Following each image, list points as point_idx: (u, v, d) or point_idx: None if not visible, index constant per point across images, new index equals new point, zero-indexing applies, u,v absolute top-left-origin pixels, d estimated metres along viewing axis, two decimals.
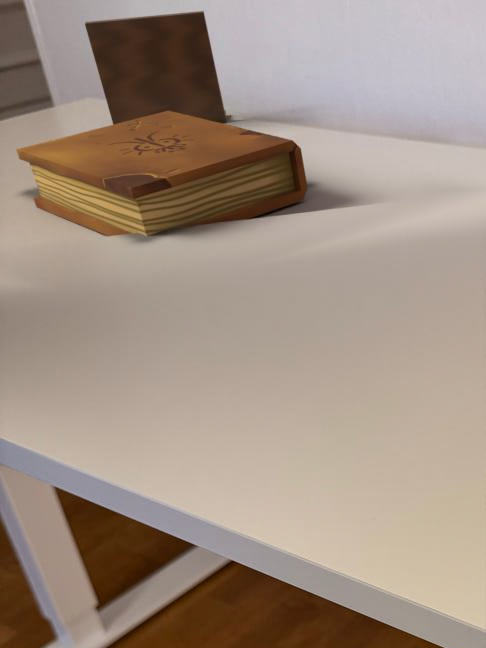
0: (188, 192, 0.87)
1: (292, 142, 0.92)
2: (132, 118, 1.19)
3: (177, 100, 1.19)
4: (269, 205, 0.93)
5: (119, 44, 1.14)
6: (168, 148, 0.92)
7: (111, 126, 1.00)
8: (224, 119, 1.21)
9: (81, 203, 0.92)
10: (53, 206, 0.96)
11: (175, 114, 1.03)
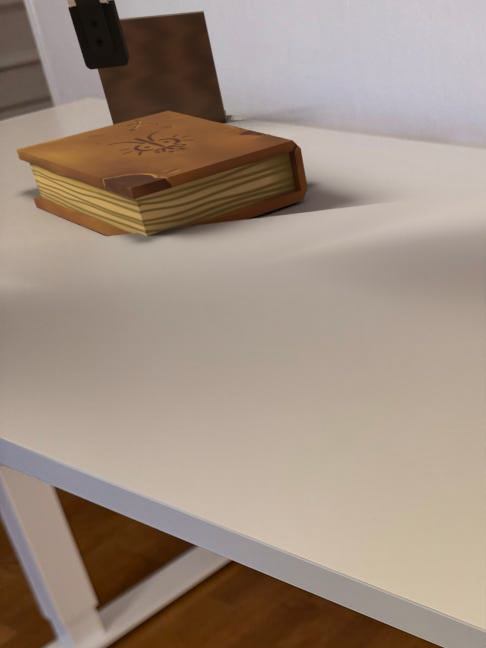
0: (188, 192, 0.87)
1: (292, 142, 0.92)
2: (132, 118, 1.19)
3: (177, 100, 1.19)
4: (269, 205, 0.93)
5: None
6: (168, 148, 0.92)
7: (111, 126, 1.00)
8: (224, 119, 1.21)
9: (81, 203, 0.93)
10: (53, 206, 0.96)
11: (175, 114, 1.03)
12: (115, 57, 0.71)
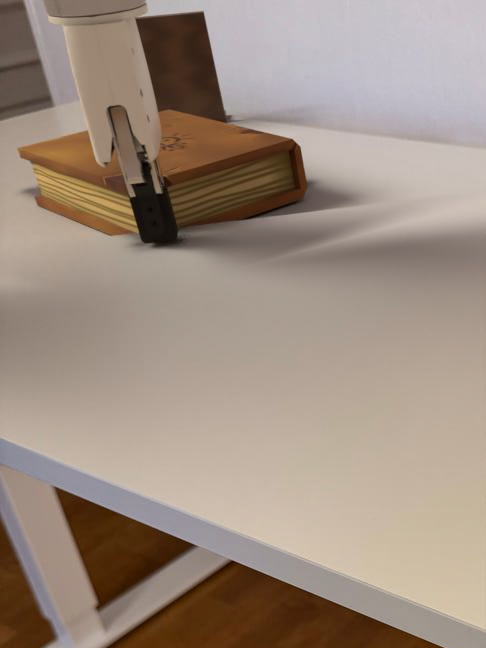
0: (188, 191, 0.88)
1: (292, 141, 0.92)
2: None
3: (177, 100, 1.19)
4: (269, 203, 0.93)
5: None
6: (168, 147, 0.93)
7: None
8: (224, 119, 1.21)
9: (82, 202, 0.93)
10: (54, 204, 0.97)
11: (175, 113, 1.03)
12: (166, 233, 0.84)
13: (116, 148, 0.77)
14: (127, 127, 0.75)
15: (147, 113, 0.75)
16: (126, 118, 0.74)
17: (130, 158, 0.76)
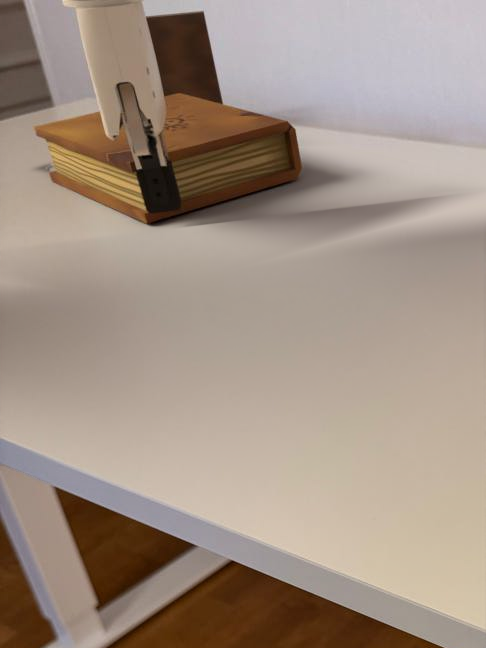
0: (185, 168, 0.93)
1: (287, 123, 0.97)
2: None
3: None
4: (264, 182, 0.99)
5: None
6: (171, 127, 0.98)
7: None
8: None
9: (90, 177, 0.99)
10: (66, 180, 1.03)
11: (185, 96, 1.09)
12: (170, 204, 0.90)
13: (124, 123, 0.83)
14: (134, 102, 0.81)
15: (153, 90, 0.81)
16: (134, 94, 0.80)
17: (137, 131, 0.82)
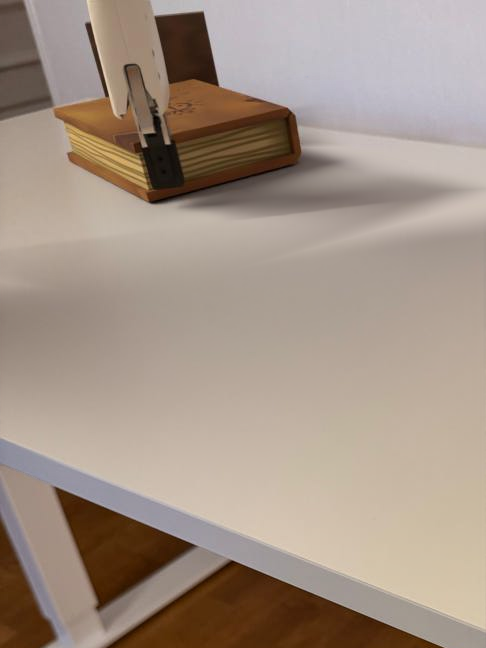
0: (187, 150, 0.98)
1: (287, 109, 1.02)
2: None
3: None
4: (264, 165, 1.03)
5: None
6: (179, 111, 1.03)
7: None
8: None
9: (101, 158, 1.04)
10: (81, 160, 1.08)
11: (198, 82, 1.14)
12: (174, 181, 0.95)
13: (131, 103, 0.89)
14: (141, 83, 0.86)
15: (158, 71, 0.86)
16: (140, 75, 0.86)
17: (143, 111, 0.87)
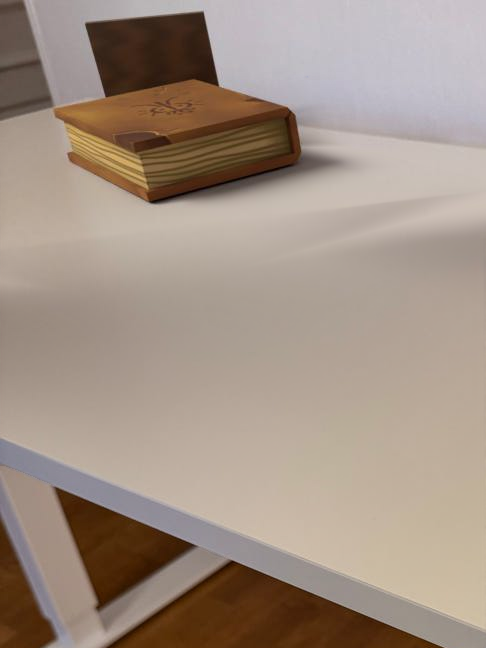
0: (187, 150, 0.98)
1: (287, 109, 1.02)
2: None
3: None
4: (264, 165, 1.03)
5: (119, 44, 1.14)
6: (179, 111, 1.03)
7: (140, 91, 1.12)
8: None
9: (101, 157, 1.04)
10: (81, 160, 1.08)
11: (198, 82, 1.14)
12: None
13: None
14: None
15: None
16: None
17: None
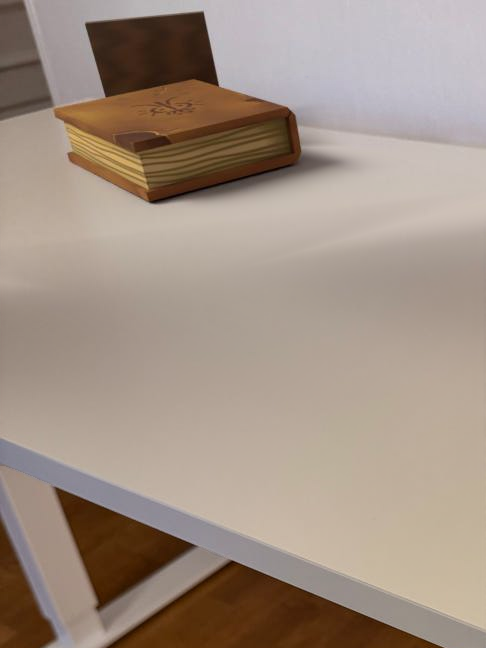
0: (187, 150, 0.98)
1: (287, 109, 1.02)
2: None
3: None
4: (264, 165, 1.03)
5: (119, 44, 1.14)
6: (179, 111, 1.03)
7: (140, 91, 1.12)
8: None
9: (101, 157, 1.04)
10: (81, 160, 1.08)
11: (198, 82, 1.14)
12: None
13: None
14: None
15: None
16: None
17: None
